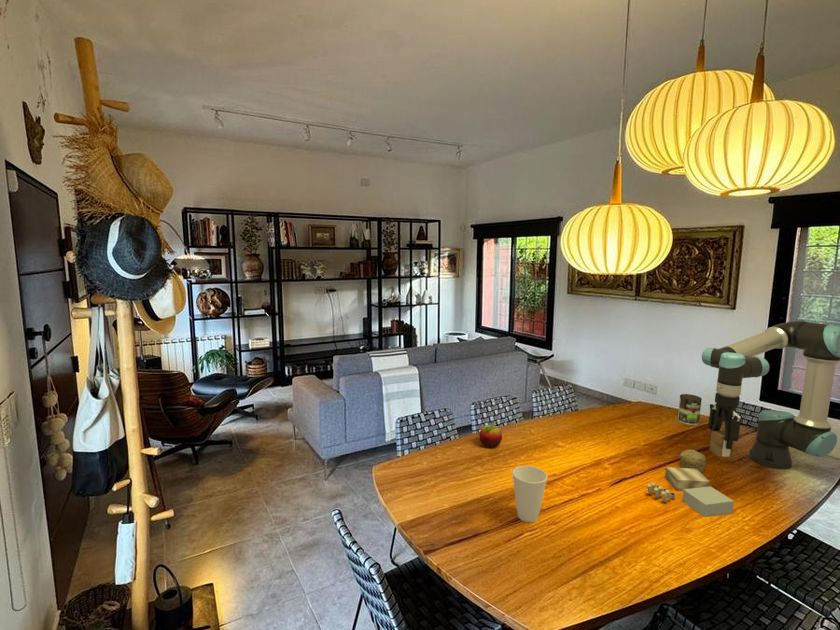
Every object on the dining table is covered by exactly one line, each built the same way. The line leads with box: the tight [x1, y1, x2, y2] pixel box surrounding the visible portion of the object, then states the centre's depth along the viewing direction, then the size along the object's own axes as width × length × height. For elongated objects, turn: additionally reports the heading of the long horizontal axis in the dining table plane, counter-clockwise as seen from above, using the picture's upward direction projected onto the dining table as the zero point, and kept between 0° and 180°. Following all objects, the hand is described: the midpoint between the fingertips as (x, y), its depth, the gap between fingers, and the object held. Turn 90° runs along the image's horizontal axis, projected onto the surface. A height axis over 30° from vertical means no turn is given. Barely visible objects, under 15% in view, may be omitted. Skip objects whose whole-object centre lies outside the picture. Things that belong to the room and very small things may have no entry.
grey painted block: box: [681, 486, 735, 518], centre depth 162 cm, size 12×10×5 cm
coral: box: [679, 449, 707, 474], centre depth 190 cm, size 9×9×8 cm
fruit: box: [478, 424, 503, 449], centre depth 210 cm, size 11×11×10 cm
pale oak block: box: [664, 466, 711, 492], centre depth 177 cm, size 12×10×5 cm
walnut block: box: [708, 430, 735, 458], centre depth 168 cm, size 5×5×8 cm
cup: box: [511, 465, 548, 523], centre depth 154 cm, size 12×12×16 cm
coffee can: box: [677, 393, 703, 426], centre depth 241 cm, size 10×10×14 cm
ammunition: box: [646, 482, 676, 503], centre depth 168 cm, size 5×7×8 cm
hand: (720, 452), depth 169 cm, fingers closed on walnut block, 5 cm apart
